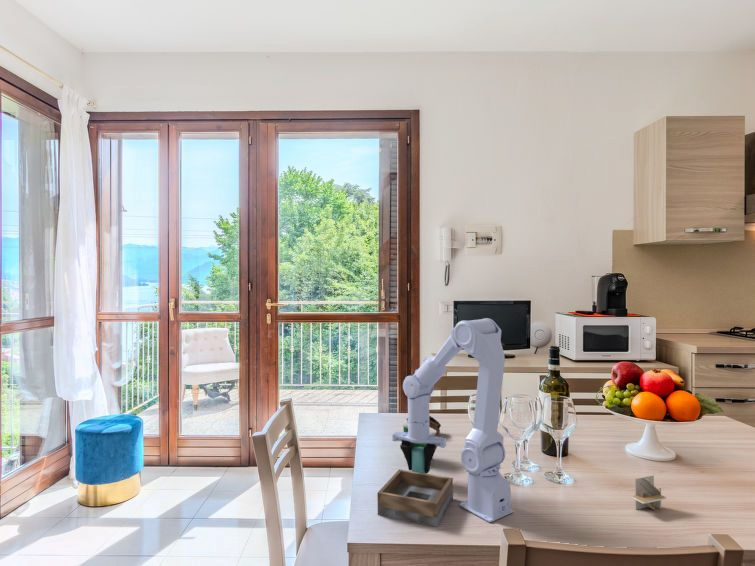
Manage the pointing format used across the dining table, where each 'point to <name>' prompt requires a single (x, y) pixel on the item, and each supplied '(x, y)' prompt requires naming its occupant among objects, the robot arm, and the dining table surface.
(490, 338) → the robot arm
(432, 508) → the socket box
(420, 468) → the peg
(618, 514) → the dining table surface
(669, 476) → the dining table surface
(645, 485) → the architectural model
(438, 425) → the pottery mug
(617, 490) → the dining table surface
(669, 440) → the dining table surface
